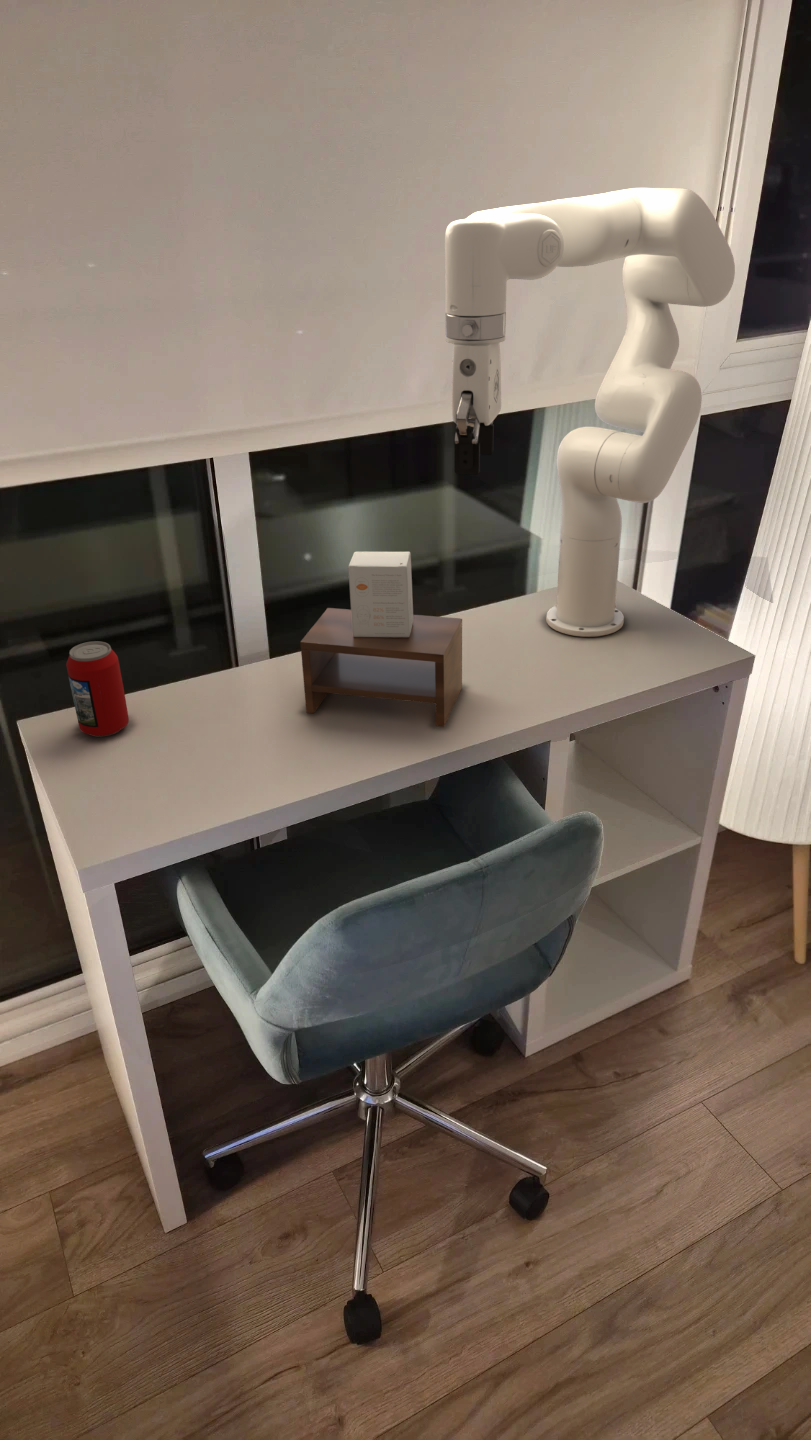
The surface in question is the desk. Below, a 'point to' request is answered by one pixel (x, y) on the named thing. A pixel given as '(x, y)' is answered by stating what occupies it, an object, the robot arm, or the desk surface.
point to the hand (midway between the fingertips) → (474, 463)
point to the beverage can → (97, 689)
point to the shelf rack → (384, 662)
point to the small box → (381, 594)
